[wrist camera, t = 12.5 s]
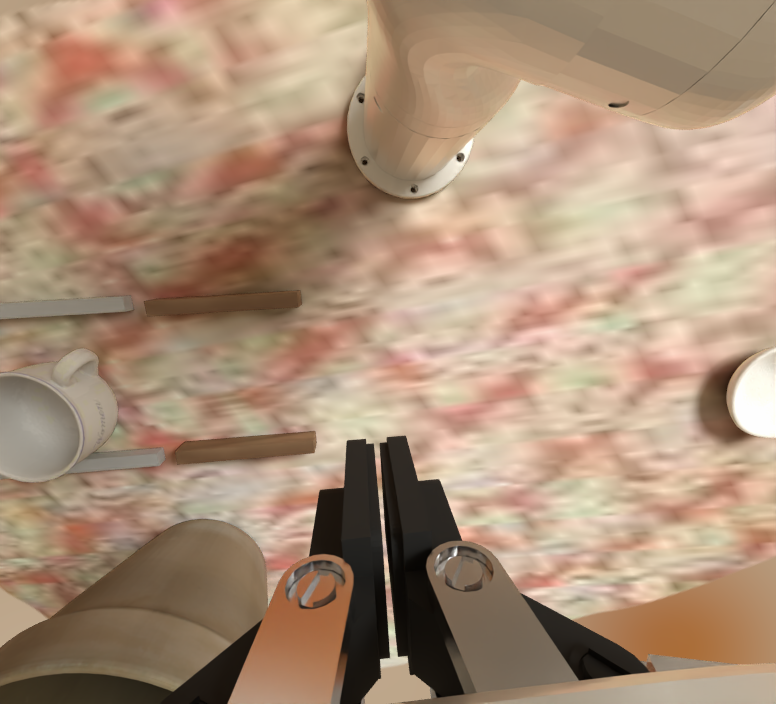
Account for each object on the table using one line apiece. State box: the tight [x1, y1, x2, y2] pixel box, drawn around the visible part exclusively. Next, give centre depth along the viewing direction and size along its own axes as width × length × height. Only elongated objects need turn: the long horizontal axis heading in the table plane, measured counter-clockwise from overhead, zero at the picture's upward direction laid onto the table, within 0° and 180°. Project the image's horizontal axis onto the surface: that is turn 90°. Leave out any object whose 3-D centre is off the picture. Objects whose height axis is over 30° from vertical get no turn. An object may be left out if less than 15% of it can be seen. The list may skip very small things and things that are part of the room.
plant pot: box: [0, 519, 268, 704], centre depth 39 cm, size 25×25×22 cm
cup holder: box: [144, 290, 317, 465], centre depth 42 cm, size 18×15×2 cm
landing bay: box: [0, 295, 166, 479], centre depth 42 cm, size 19×17×2 cm
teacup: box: [0, 348, 118, 483], centre depth 39 cm, size 14×11×8 cm
